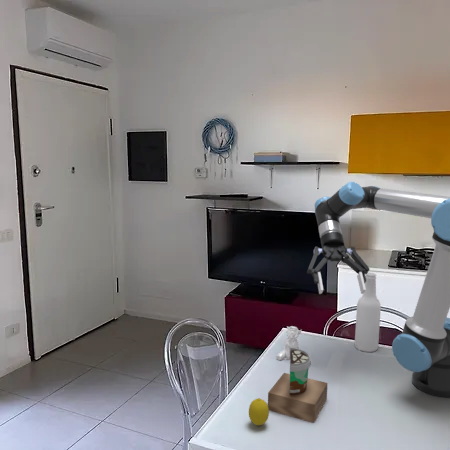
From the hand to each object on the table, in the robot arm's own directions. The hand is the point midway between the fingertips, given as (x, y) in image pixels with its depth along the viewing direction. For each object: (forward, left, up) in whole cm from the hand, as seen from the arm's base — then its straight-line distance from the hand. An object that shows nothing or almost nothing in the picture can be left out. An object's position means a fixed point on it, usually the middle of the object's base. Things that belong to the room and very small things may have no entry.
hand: (342, 292), depth 144 cm
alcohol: (-9, -34, -32) cm, 48 cm away
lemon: (+20, +30, -32) cm, 48 cm away
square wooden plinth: (+11, +16, -32) cm, 37 cm away
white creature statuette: (+18, -16, -32) cm, 40 cm away
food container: (+10, +16, -26) cm, 32 cm away
